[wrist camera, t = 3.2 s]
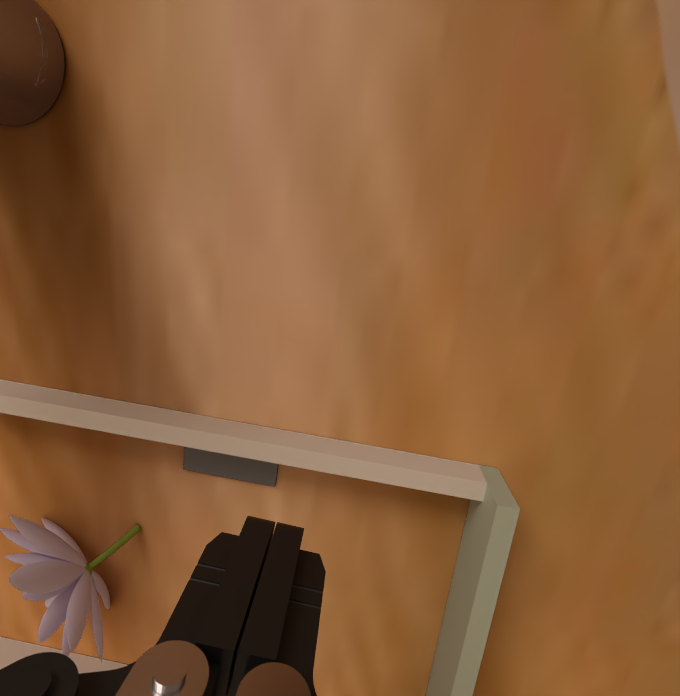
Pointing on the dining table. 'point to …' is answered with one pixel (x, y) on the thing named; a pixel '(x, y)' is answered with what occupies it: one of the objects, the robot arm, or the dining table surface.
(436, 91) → the dining table surface
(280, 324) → the dining table surface
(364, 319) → the dining table surface
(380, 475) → the grey u-shaped frame
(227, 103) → the dining table surface
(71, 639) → the water lily
